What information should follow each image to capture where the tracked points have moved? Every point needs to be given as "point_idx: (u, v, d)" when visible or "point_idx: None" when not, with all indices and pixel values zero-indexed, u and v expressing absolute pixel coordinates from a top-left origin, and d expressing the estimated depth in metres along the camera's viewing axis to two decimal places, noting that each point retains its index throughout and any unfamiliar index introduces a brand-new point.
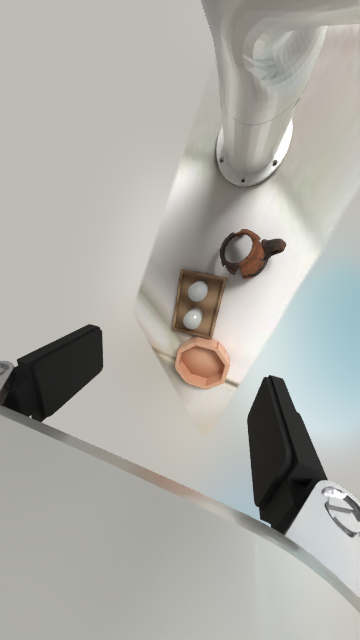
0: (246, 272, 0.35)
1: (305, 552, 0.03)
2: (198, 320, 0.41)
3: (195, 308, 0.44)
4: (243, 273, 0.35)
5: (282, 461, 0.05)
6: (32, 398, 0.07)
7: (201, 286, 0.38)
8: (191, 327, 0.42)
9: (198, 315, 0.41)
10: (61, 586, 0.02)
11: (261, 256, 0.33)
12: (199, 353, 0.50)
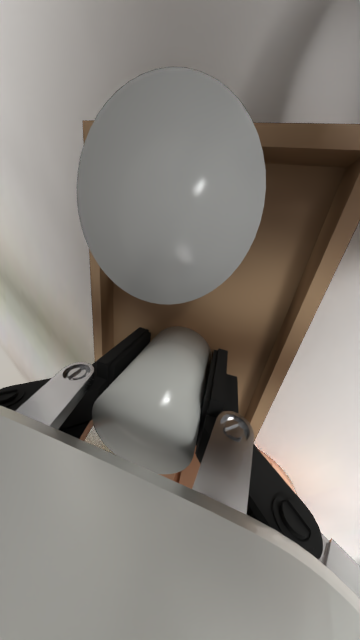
0: None
1: (305, 552, 0.03)
2: (184, 439, 0.06)
3: (175, 337, 0.09)
4: None
5: (204, 402, 0.07)
6: None
7: (210, 105, 0.03)
8: (144, 463, 0.07)
9: (185, 395, 0.06)
10: (61, 586, 0.02)
11: None
12: None
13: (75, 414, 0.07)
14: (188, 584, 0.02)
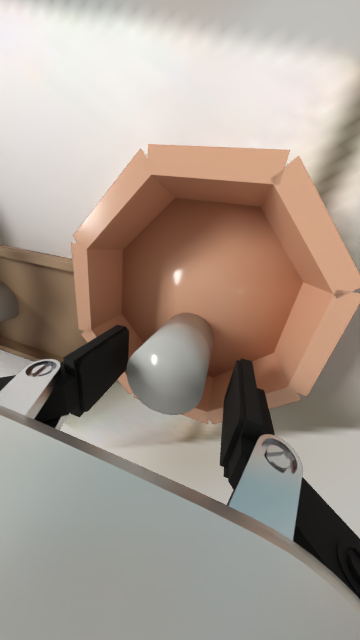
0: None
1: (305, 552, 0.03)
2: (196, 380, 0.08)
3: (184, 318, 0.12)
4: None
5: (237, 422, 0.06)
6: (74, 393, 0.08)
7: None
8: (164, 406, 0.09)
9: (196, 352, 0.09)
10: (61, 586, 0.02)
11: None
12: (172, 312, 0.13)
13: (45, 411, 0.07)
14: (188, 584, 0.02)
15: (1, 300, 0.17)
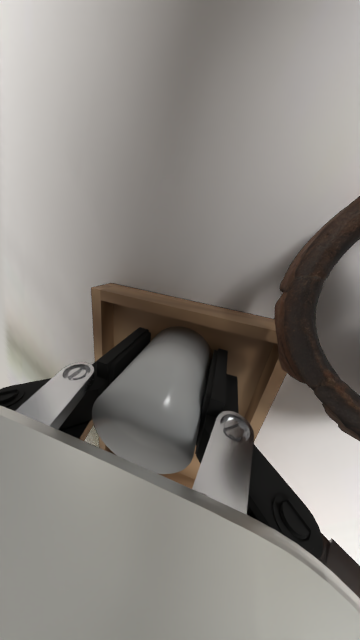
0: None
1: (305, 552, 0.03)
2: None
3: None
4: None
5: (204, 402, 0.07)
6: None
7: (163, 411, 0.06)
8: None
9: None
10: (61, 586, 0.02)
11: None
12: None
13: (75, 414, 0.07)
14: (188, 584, 0.02)
15: None
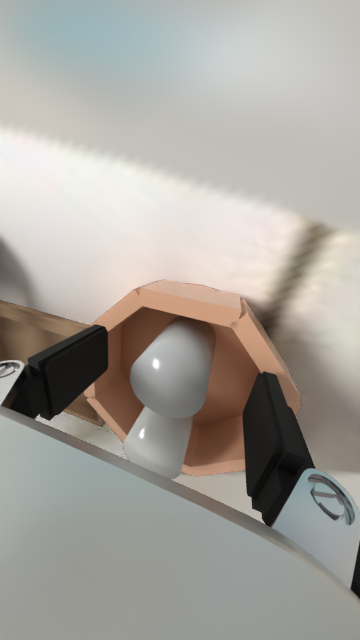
0: None
1: (305, 552, 0.03)
2: (174, 458, 0.10)
3: None
4: None
5: (272, 451, 0.05)
6: (41, 396, 0.07)
7: (184, 366, 0.08)
8: None
9: (173, 432, 0.11)
10: (61, 586, 0.02)
11: None
12: None
13: None
14: (188, 584, 0.02)
15: None
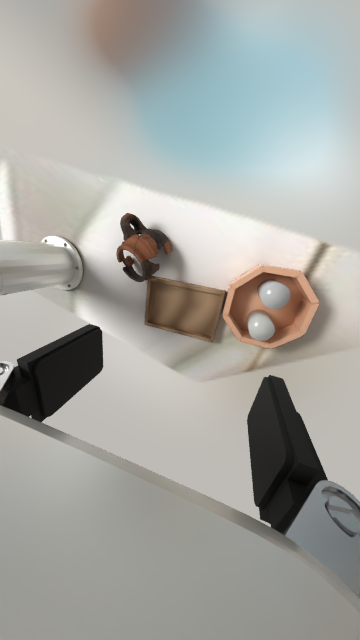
0: (152, 251, 0.31)
1: (305, 552, 0.03)
2: (272, 327, 0.29)
3: (258, 311, 0.33)
4: (154, 255, 0.31)
5: (282, 461, 0.05)
6: (32, 398, 0.07)
7: (284, 287, 0.26)
8: (262, 338, 0.30)
9: (270, 320, 0.29)
10: (61, 586, 0.02)
11: (135, 237, 0.31)
12: (252, 309, 0.34)
13: None
14: (188, 584, 0.02)
15: None
